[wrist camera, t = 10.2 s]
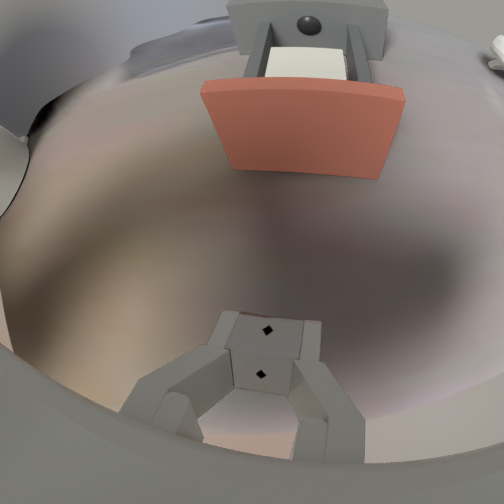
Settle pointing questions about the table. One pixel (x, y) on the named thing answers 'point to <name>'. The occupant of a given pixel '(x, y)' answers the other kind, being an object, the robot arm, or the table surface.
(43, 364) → the table surface
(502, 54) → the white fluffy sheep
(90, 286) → the table surface
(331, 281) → the table surface
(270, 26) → the socket housing
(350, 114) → the plug
